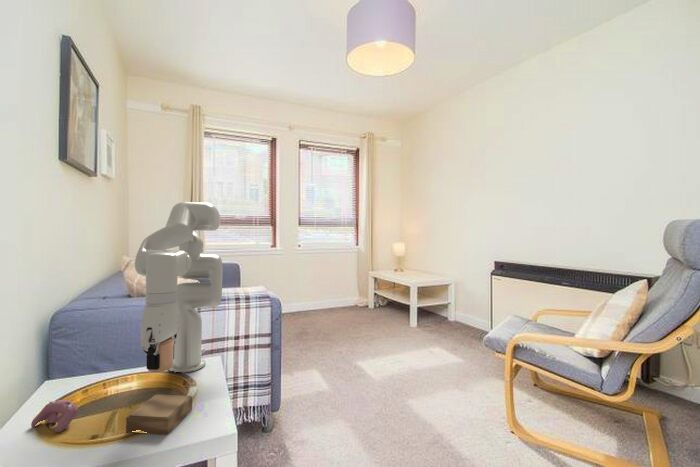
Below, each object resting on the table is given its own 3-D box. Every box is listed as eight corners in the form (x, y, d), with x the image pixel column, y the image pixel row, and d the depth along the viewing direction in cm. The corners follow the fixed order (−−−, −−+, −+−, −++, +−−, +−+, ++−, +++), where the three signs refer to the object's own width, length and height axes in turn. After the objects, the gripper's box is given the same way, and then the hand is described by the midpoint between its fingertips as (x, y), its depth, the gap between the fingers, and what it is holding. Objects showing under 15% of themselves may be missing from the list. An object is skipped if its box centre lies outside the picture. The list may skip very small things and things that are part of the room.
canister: (157, 362, 97) (157, 336, 97) (177, 363, 96) (178, 337, 96) (142, 371, 91) (143, 343, 91) (164, 372, 90) (165, 344, 90)
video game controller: (72, 432, 90) (84, 402, 93) (56, 433, 86) (69, 402, 89) (44, 426, 93) (57, 397, 96) (27, 427, 89) (41, 397, 92)
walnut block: (155, 408, 100) (155, 393, 100) (192, 409, 99) (192, 395, 99) (126, 432, 88) (126, 416, 88) (167, 434, 87) (168, 418, 87)
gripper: (167, 291, 102) (166, 352, 102) (125, 304, 85) (125, 377, 85) (191, 292, 102) (190, 353, 102) (155, 305, 84) (154, 378, 85)
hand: (160, 363), depth 93 cm, fingers closed on canister, 6 cm apart
